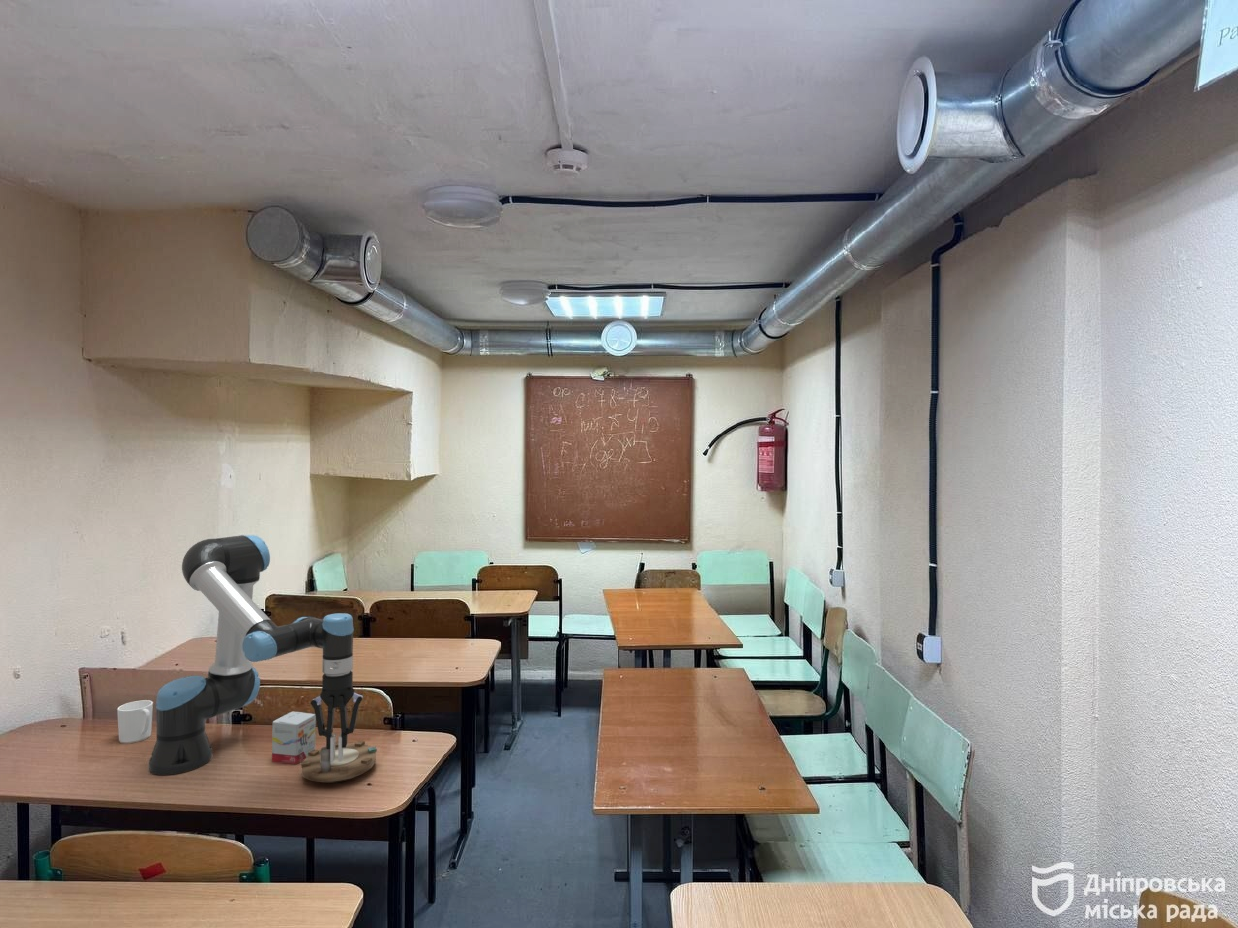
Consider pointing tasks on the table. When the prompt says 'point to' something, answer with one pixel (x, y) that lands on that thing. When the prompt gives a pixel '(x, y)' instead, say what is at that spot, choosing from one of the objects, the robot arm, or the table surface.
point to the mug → (135, 721)
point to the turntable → (338, 763)
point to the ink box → (293, 737)
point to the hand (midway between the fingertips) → (336, 759)
